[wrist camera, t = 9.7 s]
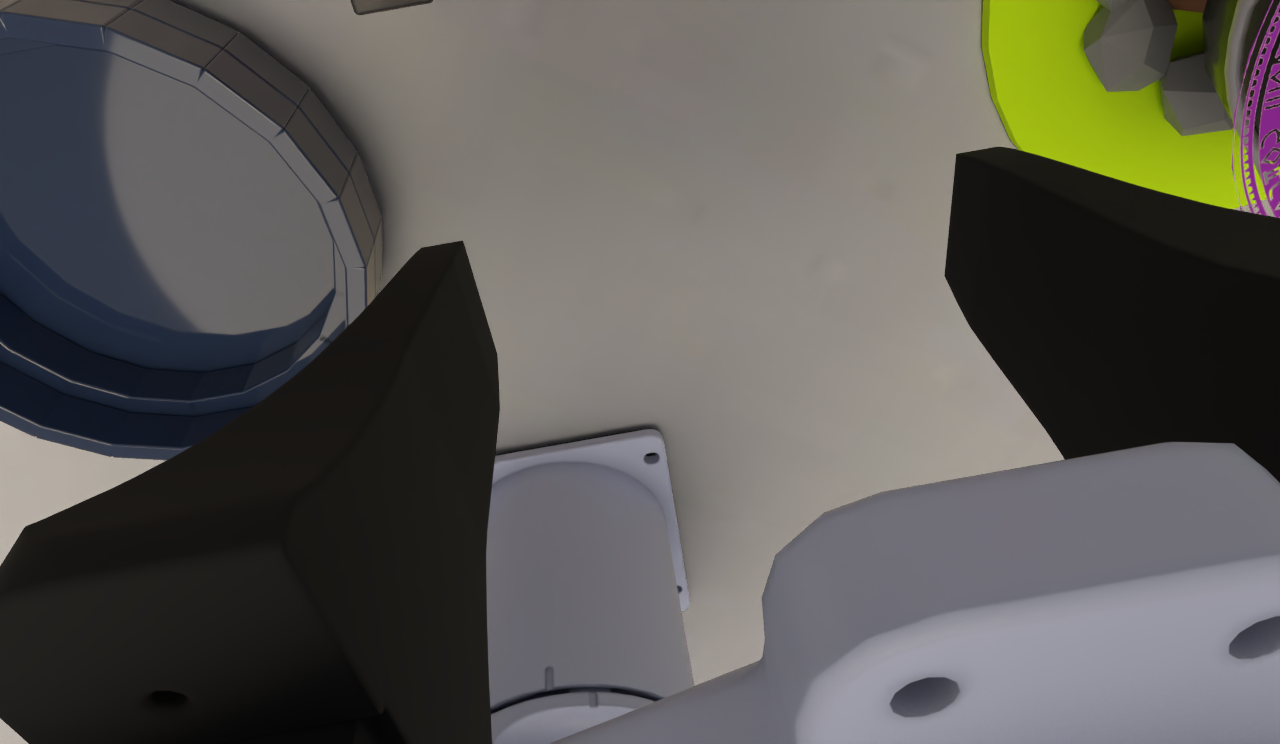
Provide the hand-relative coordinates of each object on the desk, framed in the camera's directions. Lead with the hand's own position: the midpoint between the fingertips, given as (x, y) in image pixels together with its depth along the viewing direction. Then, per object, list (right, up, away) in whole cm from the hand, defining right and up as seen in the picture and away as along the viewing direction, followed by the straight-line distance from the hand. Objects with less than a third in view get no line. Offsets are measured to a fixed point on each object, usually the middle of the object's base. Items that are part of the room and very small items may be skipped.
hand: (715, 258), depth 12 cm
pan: (-14, +2, +9) cm, 17 cm away
